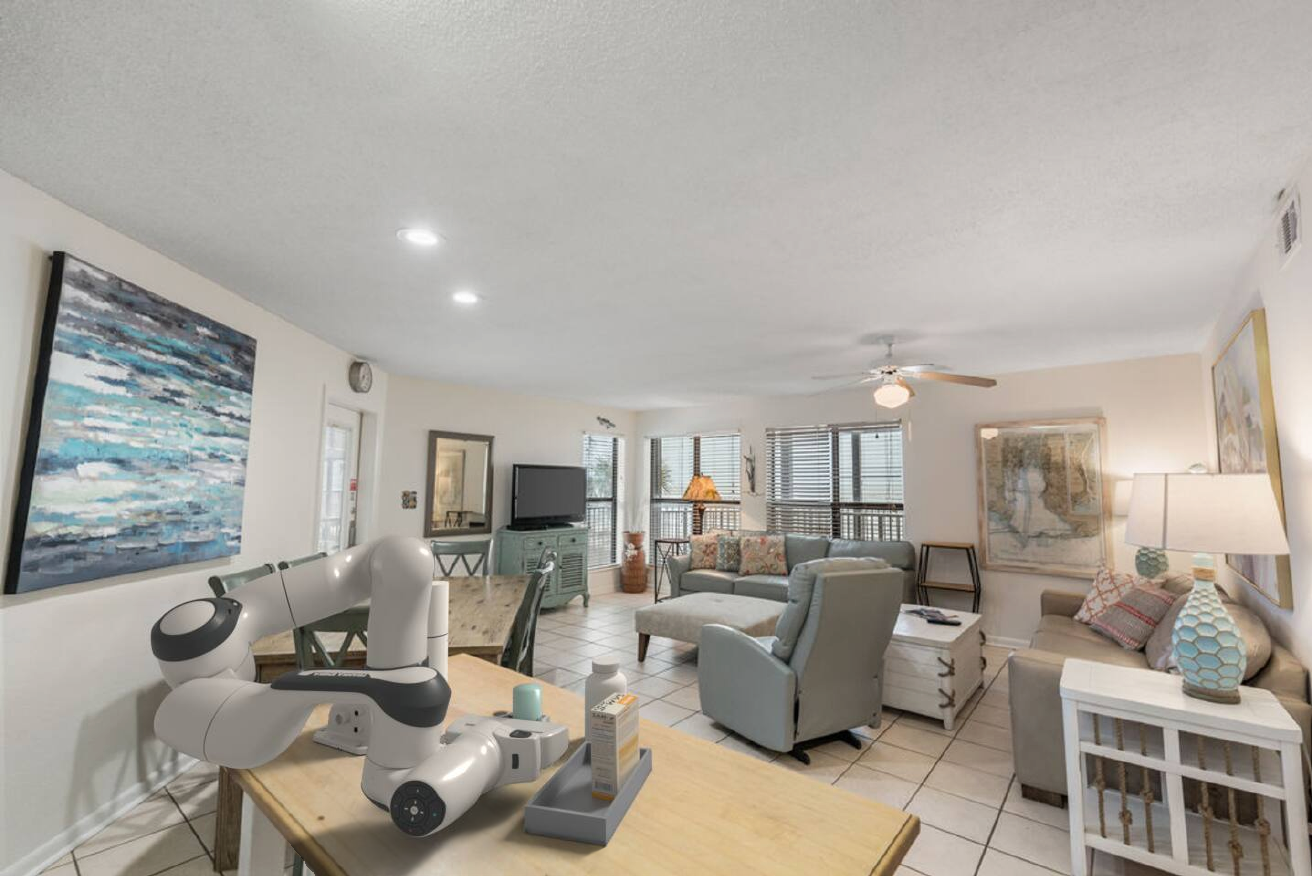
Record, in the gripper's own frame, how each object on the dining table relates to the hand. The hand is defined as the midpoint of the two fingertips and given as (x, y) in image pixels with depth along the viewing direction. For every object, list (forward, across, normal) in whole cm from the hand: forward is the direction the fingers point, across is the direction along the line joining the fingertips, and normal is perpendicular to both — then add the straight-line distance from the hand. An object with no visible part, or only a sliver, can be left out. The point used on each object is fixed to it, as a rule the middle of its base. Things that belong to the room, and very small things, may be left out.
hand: (529, 717), depth 100 cm
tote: (-8, +16, -8) cm, 19 cm away
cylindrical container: (+29, -43, -8) cm, 52 cm away
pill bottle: (+11, +10, -8) cm, 17 cm away
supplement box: (-5, +18, -7) cm, 20 cm away
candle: (-1, 0, -8) cm, 8 cm away
